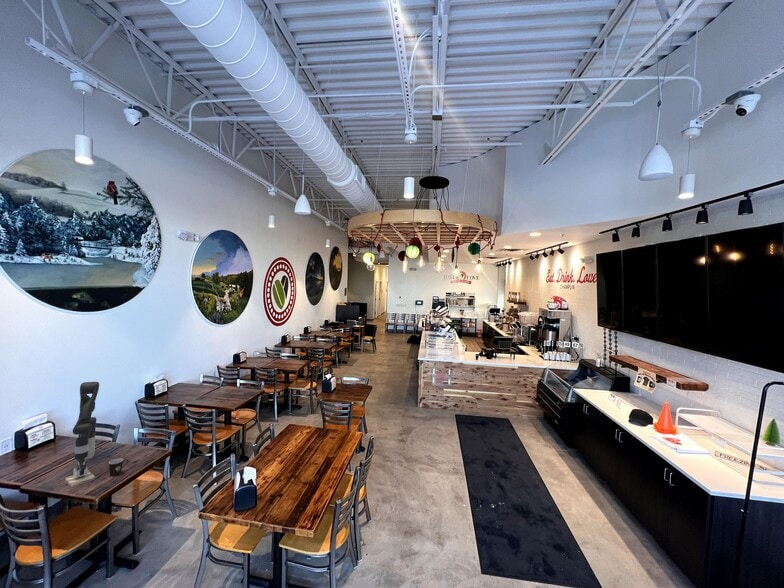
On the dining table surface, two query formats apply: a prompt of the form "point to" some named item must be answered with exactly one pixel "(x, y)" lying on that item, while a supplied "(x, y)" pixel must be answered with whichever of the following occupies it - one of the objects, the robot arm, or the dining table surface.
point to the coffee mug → (116, 466)
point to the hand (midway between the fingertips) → (80, 473)
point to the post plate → (79, 479)
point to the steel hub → (77, 472)
